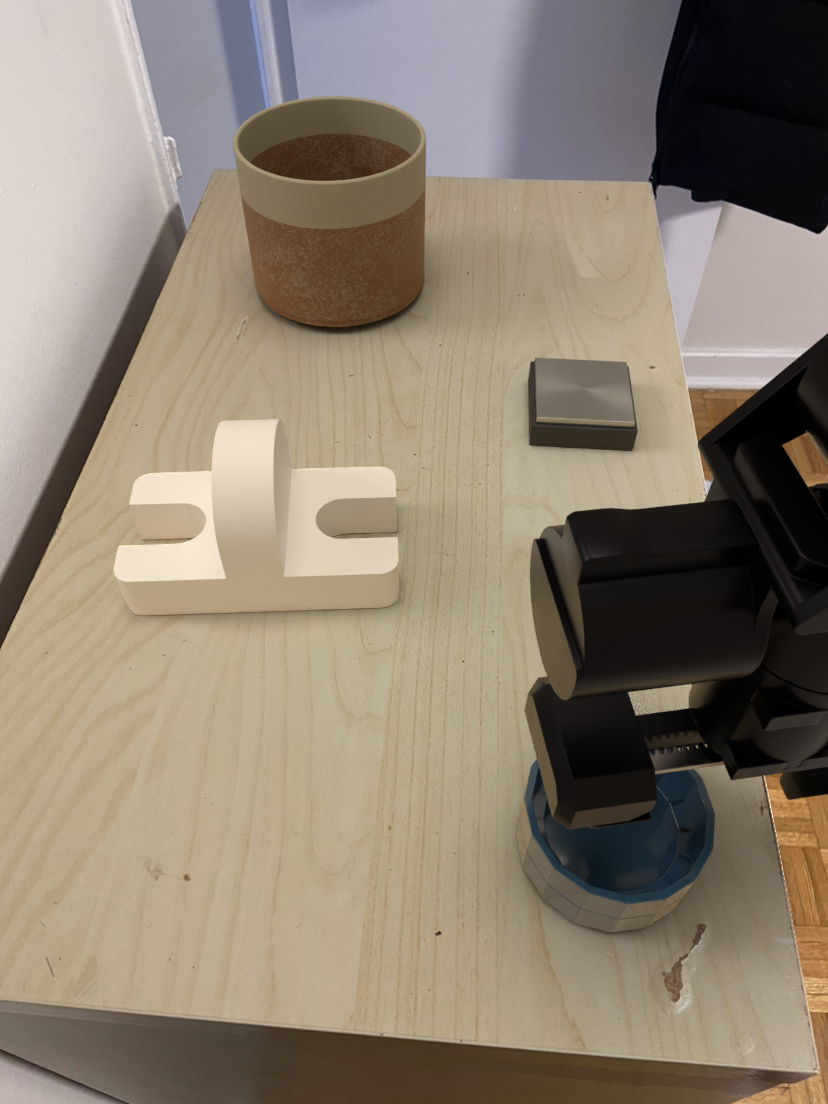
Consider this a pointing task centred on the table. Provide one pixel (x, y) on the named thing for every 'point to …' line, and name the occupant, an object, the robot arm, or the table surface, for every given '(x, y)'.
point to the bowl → (618, 855)
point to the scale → (581, 404)
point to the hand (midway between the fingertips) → (700, 802)
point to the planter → (334, 208)
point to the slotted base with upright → (260, 533)
